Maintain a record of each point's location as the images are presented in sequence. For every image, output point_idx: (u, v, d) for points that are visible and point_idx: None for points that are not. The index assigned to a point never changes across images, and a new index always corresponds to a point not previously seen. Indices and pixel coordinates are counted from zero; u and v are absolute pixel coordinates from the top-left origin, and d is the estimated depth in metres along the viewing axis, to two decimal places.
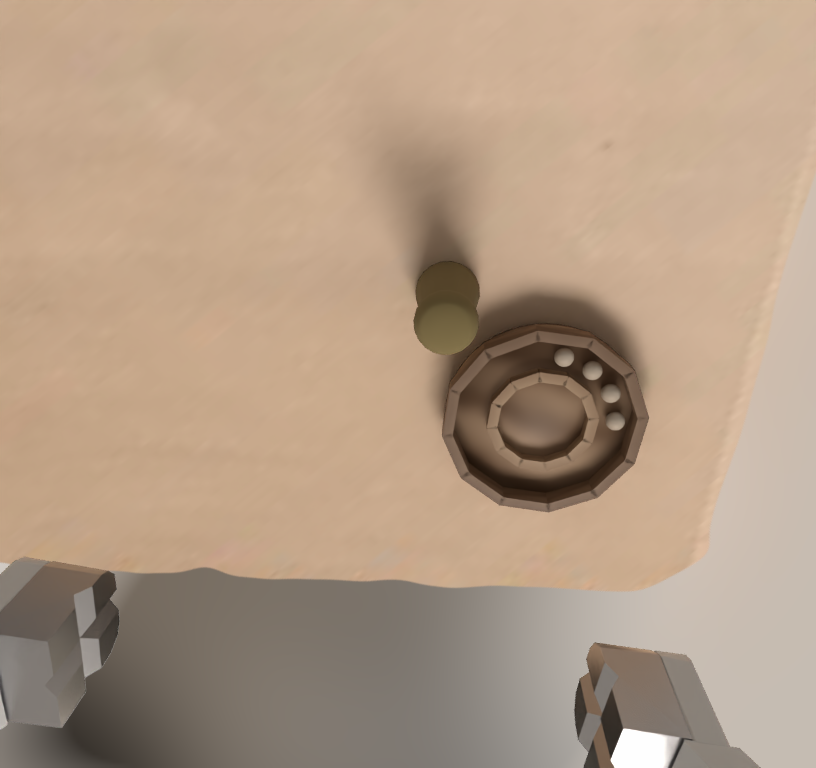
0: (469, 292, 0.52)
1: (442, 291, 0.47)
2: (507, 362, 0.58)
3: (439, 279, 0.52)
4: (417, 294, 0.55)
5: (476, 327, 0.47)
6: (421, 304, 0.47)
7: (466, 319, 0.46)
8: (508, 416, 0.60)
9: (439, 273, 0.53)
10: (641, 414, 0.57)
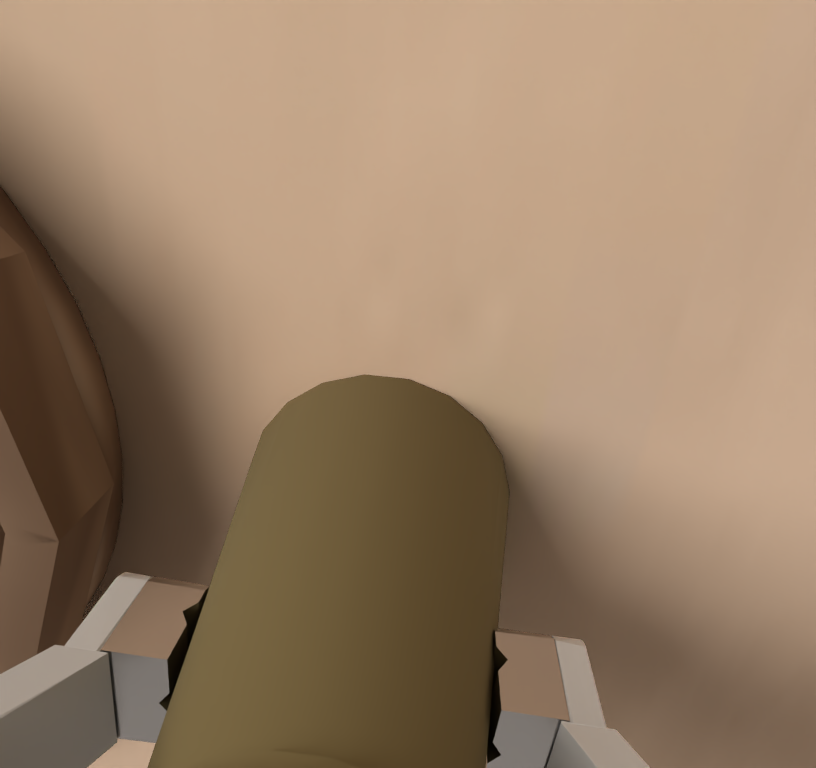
0: None
1: None
2: None
3: None
4: (478, 482, 0.11)
5: None
6: None
7: None
8: None
9: None
10: None
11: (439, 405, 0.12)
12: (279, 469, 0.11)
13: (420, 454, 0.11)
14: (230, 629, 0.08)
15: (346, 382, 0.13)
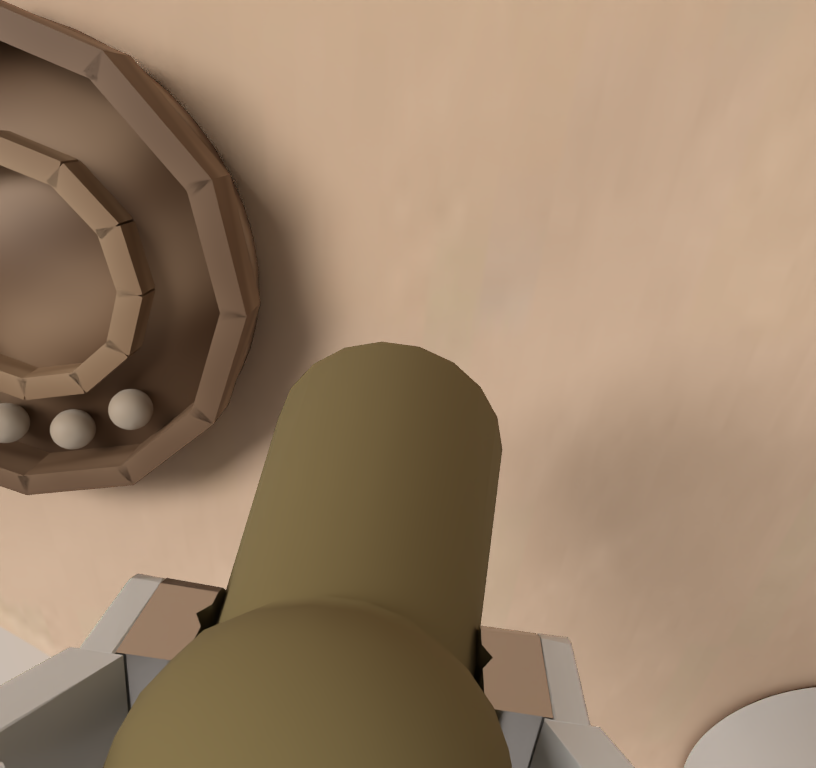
0: None
1: None
2: (189, 309, 0.25)
3: None
4: (476, 432, 0.14)
5: None
6: None
7: None
8: (68, 216, 0.24)
9: None
10: None
11: (445, 369, 0.15)
12: (311, 414, 0.13)
13: (430, 404, 0.13)
14: (281, 524, 0.10)
15: (366, 347, 0.15)
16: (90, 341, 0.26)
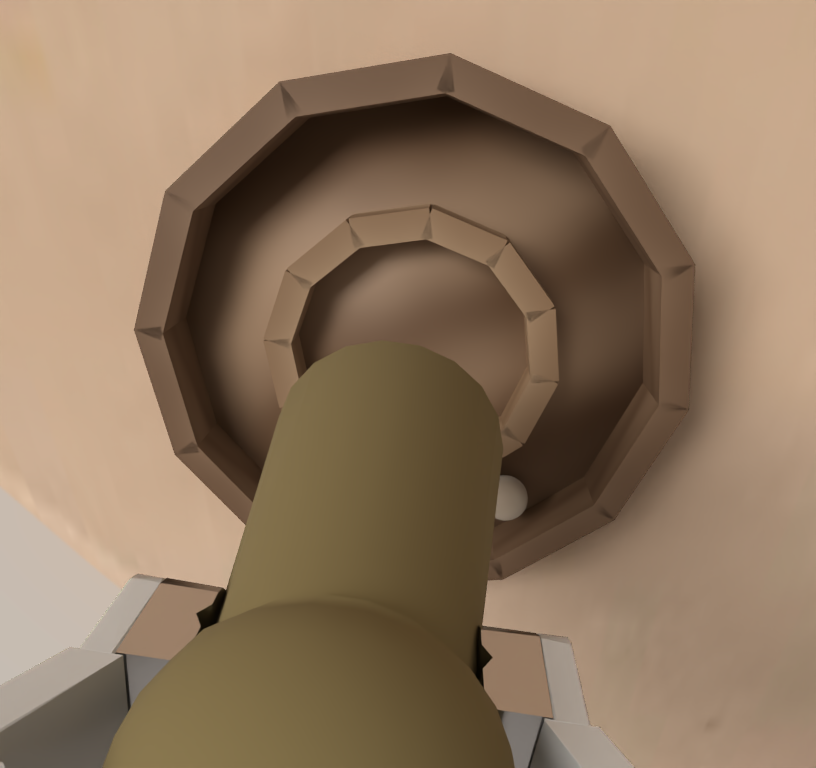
0: None
1: None
2: (586, 392, 0.23)
3: None
4: (478, 431, 0.13)
5: None
6: None
7: None
8: (475, 294, 0.22)
9: None
10: None
11: (446, 368, 0.14)
12: (312, 412, 0.13)
13: (431, 403, 0.13)
14: (282, 522, 0.10)
15: (366, 346, 0.15)
16: None
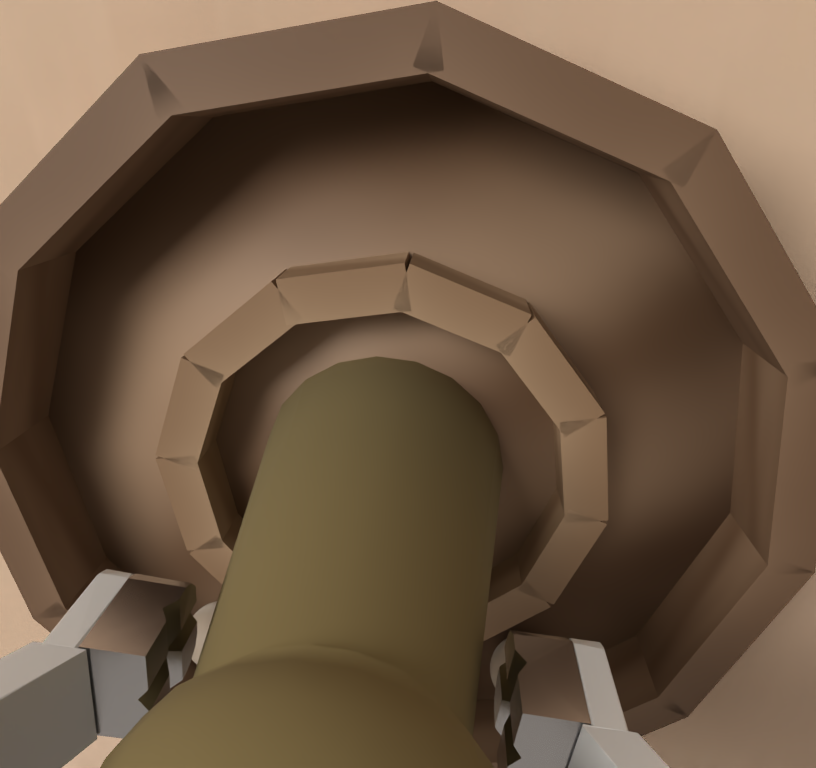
0: None
1: None
2: (645, 524, 0.16)
3: None
4: (476, 453, 0.13)
5: None
6: None
7: None
8: (480, 386, 0.14)
9: None
10: None
11: (443, 385, 0.14)
12: (301, 435, 0.12)
13: (427, 425, 0.12)
14: (267, 559, 0.09)
15: (360, 362, 0.14)
16: None
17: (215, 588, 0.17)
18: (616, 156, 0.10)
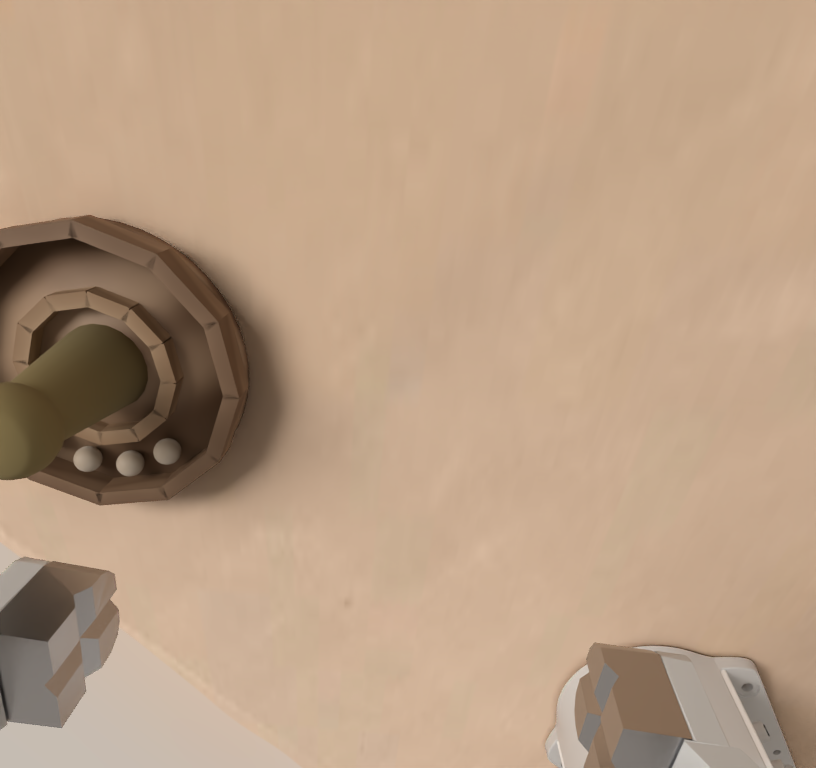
0: None
1: (51, 459, 0.32)
2: (205, 389, 0.40)
3: (102, 413, 0.37)
4: (116, 355, 0.38)
5: None
6: (47, 434, 0.31)
7: None
8: (131, 334, 0.39)
9: (118, 404, 0.38)
10: (37, 476, 0.42)
11: (113, 333, 0.39)
12: (51, 347, 0.37)
13: (94, 344, 0.37)
14: (20, 373, 0.34)
15: (85, 325, 0.39)
16: (142, 408, 0.41)
17: None
18: (130, 261, 0.35)
